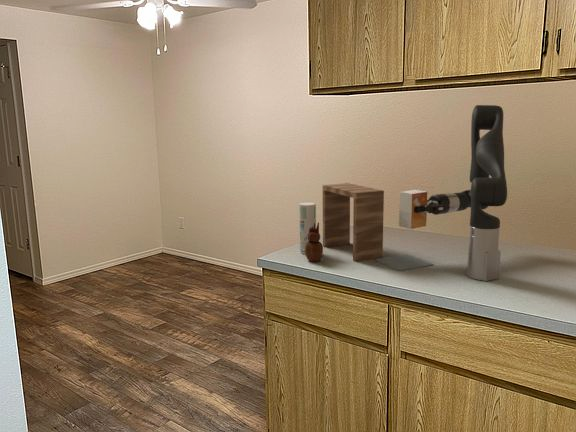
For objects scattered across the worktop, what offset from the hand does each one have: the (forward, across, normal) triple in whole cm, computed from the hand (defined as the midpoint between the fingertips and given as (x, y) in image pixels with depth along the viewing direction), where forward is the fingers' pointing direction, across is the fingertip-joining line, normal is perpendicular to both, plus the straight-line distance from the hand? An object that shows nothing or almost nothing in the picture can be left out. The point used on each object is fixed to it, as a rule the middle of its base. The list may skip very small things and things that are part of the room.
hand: (408, 208), depth 179 cm
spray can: (+27, -29, +20) cm, 44 cm away
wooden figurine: (+30, -18, +20) cm, 40 cm away
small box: (-2, 0, +7) cm, 8 cm away
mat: (+2, 0, +20) cm, 20 cm away
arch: (+11, -22, +20) cm, 32 cm away
